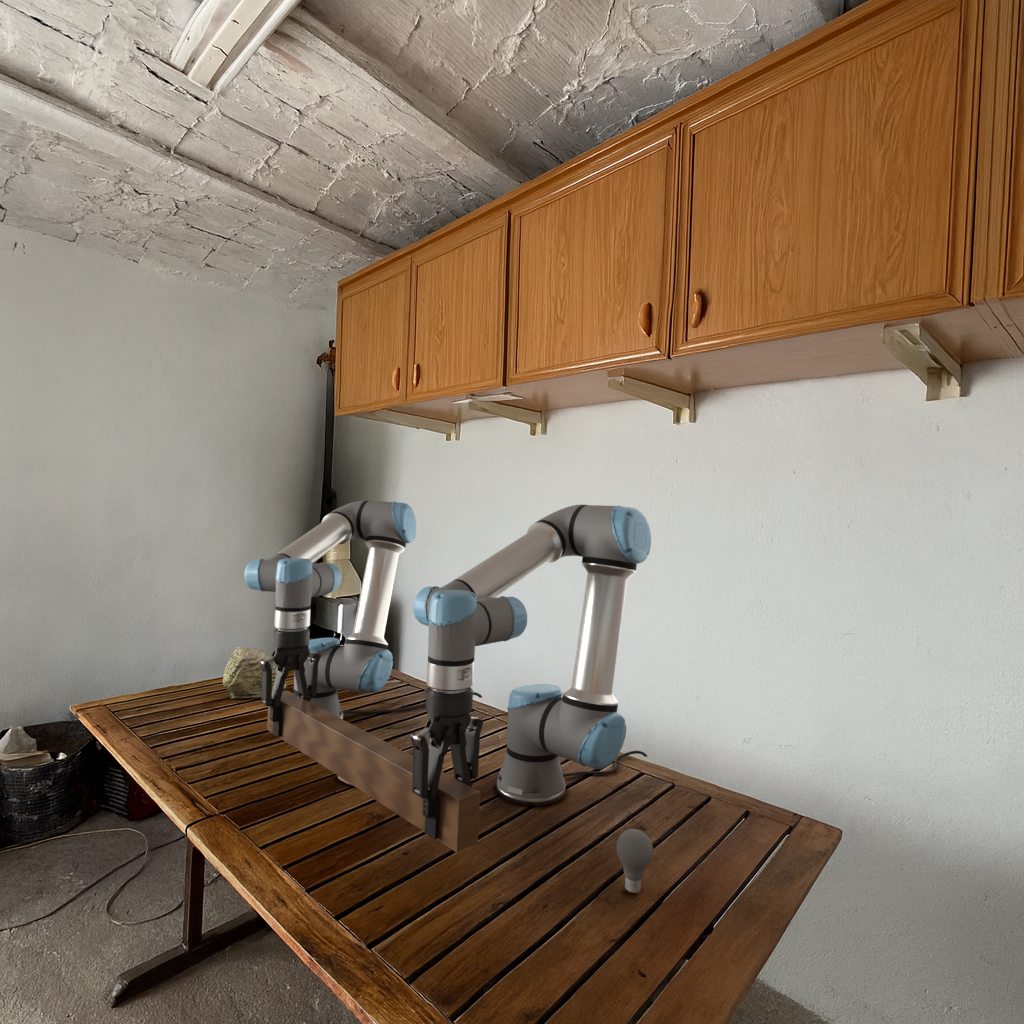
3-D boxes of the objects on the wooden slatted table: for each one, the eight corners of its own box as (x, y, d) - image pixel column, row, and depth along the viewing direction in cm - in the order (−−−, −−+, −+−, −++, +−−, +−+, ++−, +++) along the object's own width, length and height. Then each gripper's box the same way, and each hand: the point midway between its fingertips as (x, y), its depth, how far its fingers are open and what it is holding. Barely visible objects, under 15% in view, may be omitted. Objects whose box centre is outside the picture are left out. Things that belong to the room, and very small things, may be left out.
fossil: (218, 695, 195) (220, 647, 195) (278, 685, 208) (279, 640, 207) (228, 703, 189) (230, 653, 188) (289, 692, 201) (290, 645, 201)
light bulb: (610, 879, 108) (613, 822, 108) (644, 879, 109) (647, 822, 109) (619, 902, 102) (622, 840, 102) (655, 901, 103) (658, 840, 103)
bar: (267, 729, 144) (268, 693, 144) (285, 725, 147) (286, 690, 147) (456, 853, 97) (459, 800, 97) (478, 842, 100) (480, 791, 100)
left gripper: (260, 636, 132) (256, 747, 132) (336, 626, 144) (332, 728, 145) (245, 629, 137) (241, 736, 138) (320, 621, 150) (316, 719, 150)
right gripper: (420, 703, 93) (414, 859, 94) (504, 682, 106) (499, 820, 106) (391, 691, 99) (385, 839, 99) (474, 672, 111) (469, 804, 112)
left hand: (288, 732), depth 141 cm, fingers closed on bar, 4 cm apart
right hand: (444, 829), depth 103 cm, fingers closed on bar, 4 cm apart
